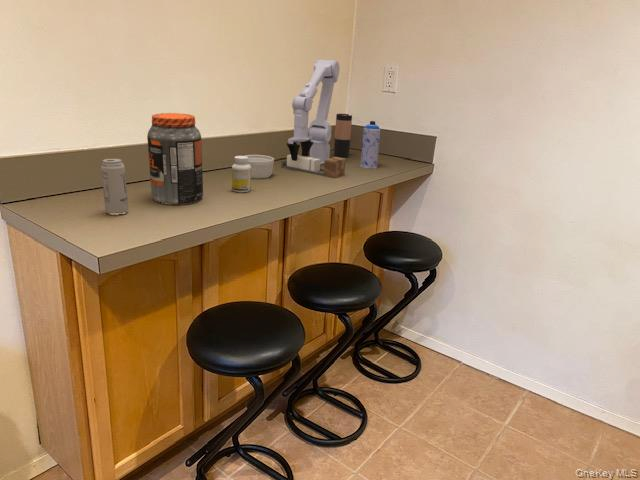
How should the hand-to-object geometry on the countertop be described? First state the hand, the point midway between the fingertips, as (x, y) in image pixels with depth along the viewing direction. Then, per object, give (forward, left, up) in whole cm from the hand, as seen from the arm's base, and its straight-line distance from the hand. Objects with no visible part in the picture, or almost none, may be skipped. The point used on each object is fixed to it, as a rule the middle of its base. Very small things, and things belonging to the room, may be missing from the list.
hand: (299, 159), depth 204 cm
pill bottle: (+44, +7, -4) cm, 45 cm away
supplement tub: (+66, 0, -4) cm, 66 cm away
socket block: (0, +17, -4) cm, 18 cm away
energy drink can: (+87, -1, -4) cm, 87 cm away
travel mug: (-38, -2, -4) cm, 38 cm away
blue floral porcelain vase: (-27, +19, -4) cm, 33 cm away
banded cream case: (0, +2, -4) cm, 4 cm away
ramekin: (+23, -4, -4) cm, 24 cm away
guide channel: (0, +4, -4) cm, 6 cm away
